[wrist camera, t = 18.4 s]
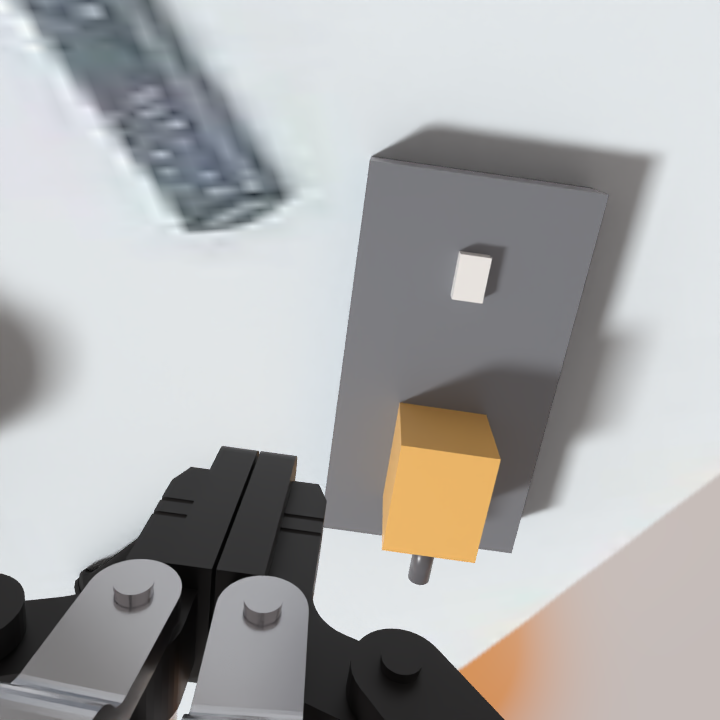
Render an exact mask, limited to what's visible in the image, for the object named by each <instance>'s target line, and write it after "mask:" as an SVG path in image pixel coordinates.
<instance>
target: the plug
mask: <svg viewBox="0 0 720 720" xmlns="http://www.w3.org/2000/svg"><path fill="white" fill-rule="evenodd" d="M500 461H501V459H500V455H499V452H498V449H497V446H496V443H495V440H494V437H493V434H492V431H491V428H490V425H489V421H488V418H487V415H484V414H477V413H470V412H463V411H456V410H449V409H442V408H435V407H428V406H421V405H414V404H407V403H399V409H398V414H397V420H396V426H395V431H394V437H393V442H392V448H391V454H390V459H389V465H388V471H387V476H386V482H385V487H384V493H383V518H382V550H386V551H393V552H400V553H407V554H412V559H411V564H410V569H409V574H408V578H409V580H410V581H411V582H413V583H415V584H418V585H424V584H426V583H428V581H429V577H430V573H431V568H432V564H433V559H434V557H436V558H443V559H450V560H457V561H464V562H471V563H475V560H476V556H477V552H478V548H479V544H480V540H481V536H482V532H483V528H484V524H485V520H486V516H487V512H488V508H489V504H490V500H491V496H492V493H493V489H494V485H495V481H496V477H497V473H498V469H499V465H500Z"/></svg>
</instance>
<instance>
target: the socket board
mask: <svg viewBox="0 0 720 720" xmlns="http://www.w3.org/2000/svg"><path fill="white" fill-rule="evenodd" d="M608 197H609V195H608V194H606V193H603V192H600V191H598V190H595V189H592V188H587V187H580V186H573V185H566V184H559V183H552V182H545V181H539V180H532V179H525V178H518V177H511V176H504V175H497V174H490V173H483V172H476V171H469V170H462V169H455V168H448V167H441V166H434V165H427V164H420V163H413V162H406V161H399V160H392V159H385V158H378V157H371V159H370V163H369V171H368V178H367V185H366V193H365V200H364V208H363V215H362V223H361V230H360V238H359V245H358V253H357V260H356V268H355V275H354V283H353V290H352V297H351V305H350V312H349V320H348V327H347V335H346V342H345V350H344V357H343V365H342V372H341V380H340V387H339V395H338V402H337V410H336V417H335V424H334V432H333V439H332V447H331V454H330V462H329V469H328V477H327V484H326V492H325V498H326V500H327V504H326V511H325V519H324V526H323V527H324V528H332V529H339V530H346V531H354V532H361V533H368V534H375V535H382V518H383V493H384V487H385V482H386V476H387V471H388V465H389V459H390V454H391V448H392V442H393V437H394V431H395V426H396V420H397V414H398V409H399V403H407V404H414V405H421V406H428V407H435V408H442V409H449V410H456V411H463V412H470V413H477V414H484V415H487V418H488V421H489V425H490V428H491V431H492V434H493V437H494V440H495V443H496V446H497V449H498V452H499V455H500V459H501V461H500V465H499V469H498V473H497V477H496V481H495V485H494V489H493V493H492V496H491V500H490V504H489V508H488V512H487V516H486V520H485V524H484V528H483V532H482V536H481V540H480V544H479V548H478V549H485V550H492V551H499V552H506V553H512V549H513V545H514V542H515V538H516V534H517V531H518V527H519V523H520V520H521V516H522V512H523V509H524V505H525V501H526V498H527V494H528V490H529V487H530V483H531V479H532V476H533V472H534V468H535V465H536V461H537V457H538V454H539V450H540V446H541V443H542V439H543V435H544V432H545V428H546V424H547V421H548V417H549V413H550V410H551V406H552V402H553V399H554V395H555V391H556V388H557V384H558V380H559V377H560V373H561V369H562V366H563V362H564V358H565V355H566V351H567V347H568V344H569V340H570V336H571V333H572V329H573V325H574V321H575V318H576V314H577V310H578V307H579V303H580V299H581V296H582V292H583V288H584V285H585V281H586V277H587V274H588V270H589V266H590V263H591V259H592V255H593V252H594V248H595V244H596V241H597V237H598V233H599V230H600V226H601V222H602V219H603V215H604V211H605V208H606V204H607V200H608Z"/></svg>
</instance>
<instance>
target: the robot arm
mask: <svg viewBox="0 0 720 720" xmlns="http://www.w3.org/2000/svg"><path fill="white" fill-rule="evenodd" d="M296 467H297V456H292V455H285V454H277V453H270V452H263V451H261V452H260V454H259V451H255V450H248V449H240V448H233V447H226V446H222V447H221V448H220V450H219V452H218V454H217V456H216V458H215V460H214V462H213V464H212V466H211V468H210V470H209V469H202V468H195V467H190V468H189V469H187V470H186V471H184V472H183V473H182V474H180V475H179V476H177V477H176V478H174V479H173V480H172V481H171V483H170V484H169V486H168V488H167V489H166V491H165V493H164V495H163V496H162V500H160V501H159V503H158V505H157V507H156V508H155V510H154V514H152V515H151V517H150V518H149V520H148V522H147V524H146V525H145V527H144V529H143V530H142V532H141V534H140V536H139V537H138V539H137V541H136V542H135V544H134V546H133V547H132V549H131V551H130V553H129V554H128V556H127V558H126V559H125V561H122V562H119V563H116V564H113V565H111V566H109V567H107V568H105V569H103V570H102V571H100V572H99V573H98V574H96V575H95V576H94V577H93V578H92V579H91V580H90V581H89V583H88V584H87V585H86V587H85V588H84V589H83V591H82V592H81V593H79V594H75V595H71V596H65V597H57V598H47V599H38V600H28V601H25V595H24V590H23V588H22V586H21V584H20V583H19V582H18V581H17V580H15V579H14V578H12V577H10V576H7V575H4V574H0V720H177V709H178V707H179V704H180V702H181V699H182V696H183V693H184V691H185V688H186V685H187V682H195V683H197V685H196V689H195V693H194V697H193V701H192V705H191V709H190V712H189V714H184V715H183V717H182V720H504V719H503V718H502V717H501V716H500V715H499V713H498V712H497V711H496V710H495V709H494V708H493V707H492V706H491V705H490V704H489V703H488V702H487V701H486V700H485V699H484V698H483V697H482V696H481V695H480V693H479V692H478V691H477V690H476V689H475V688H474V687H473V686H472V685H471V684H470V683H469V682H468V681H467V680H466V679H465V678H464V677H463V675H462V674H461V673H460V672H459V671H458V670H457V669H456V668H455V667H454V666H453V665H452V664H451V663H450V662H449V661H448V660H447V659H446V658H445V656H444V655H443V654H442V653H441V652H440V651H439V650H438V649H437V648H436V647H435V646H434V645H433V644H432V643H430V642H429V641H428V640H426V639H425V638H423V637H421V636H419V635H417V634H415V633H412V632H410V631H406V630H401V629H382V630H377V631H374V632H372V633H369V634H368V635H366V636H364V637H363V638H362V639H361V640H360V641H358V640H355V639H353V638H351V637H348V636H346V635H344V634H342V633H340V632H338V631H336V630H335V629H333V628H332V627H330V626H329V625H328V624H327V623H326V622H325V621H324V620H323V619H322V618H321V617H320V616H319V614H318V612H317V611H316V609H315V606H314V603H313V595H314V589H315V582H316V576H317V570H318V563H319V556H320V548H321V541H322V534H323V526H324V519H325V511H326V504H327V500H326V498H325V496H324V494H323V492H322V490H321V488H320V486H319V484H312V483H305V482H297V481H295V476H296Z"/></svg>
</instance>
